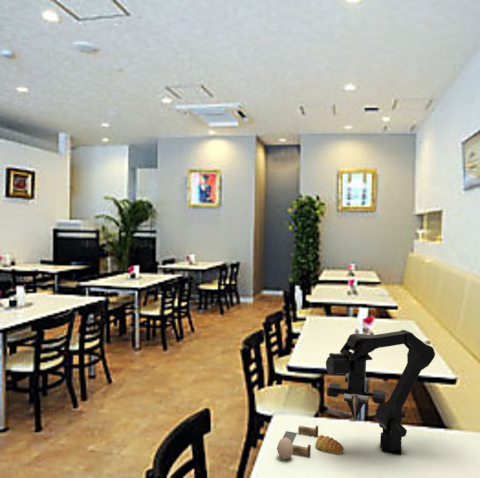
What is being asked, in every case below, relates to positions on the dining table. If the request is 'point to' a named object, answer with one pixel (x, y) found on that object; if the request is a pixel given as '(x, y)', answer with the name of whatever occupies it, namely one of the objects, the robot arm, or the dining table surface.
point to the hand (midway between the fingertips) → (355, 418)
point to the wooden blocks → (303, 450)
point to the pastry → (329, 445)
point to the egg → (285, 448)
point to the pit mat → (290, 435)
